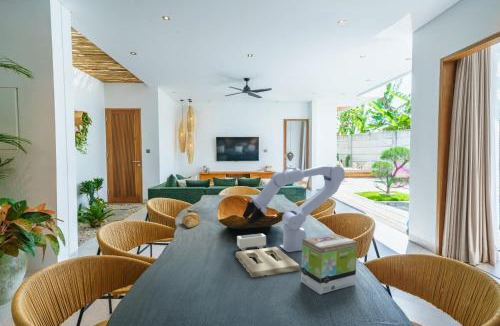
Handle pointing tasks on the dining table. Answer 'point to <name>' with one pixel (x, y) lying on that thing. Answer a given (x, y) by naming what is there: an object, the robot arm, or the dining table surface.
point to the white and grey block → (251, 241)
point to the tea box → (328, 262)
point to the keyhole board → (266, 262)
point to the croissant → (190, 219)
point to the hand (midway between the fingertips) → (246, 220)
